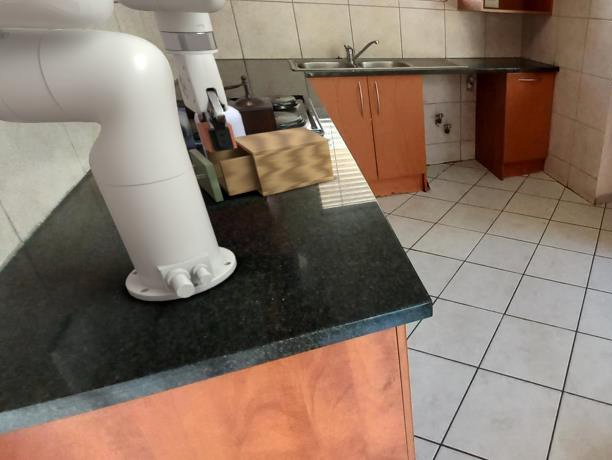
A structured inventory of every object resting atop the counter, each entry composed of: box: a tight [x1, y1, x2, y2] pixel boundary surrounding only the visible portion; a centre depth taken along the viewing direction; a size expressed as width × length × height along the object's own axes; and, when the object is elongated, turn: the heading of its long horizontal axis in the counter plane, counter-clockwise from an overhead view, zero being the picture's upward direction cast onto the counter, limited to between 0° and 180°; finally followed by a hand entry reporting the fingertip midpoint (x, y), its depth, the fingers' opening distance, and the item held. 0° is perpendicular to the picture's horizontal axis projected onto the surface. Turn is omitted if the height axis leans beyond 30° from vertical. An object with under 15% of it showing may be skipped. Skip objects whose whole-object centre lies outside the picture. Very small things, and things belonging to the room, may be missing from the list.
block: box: [196, 122, 237, 152], centre depth 80 cm, size 4×4×4 cm
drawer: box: [188, 144, 261, 202], centre depth 83 cm, size 19×11×7 cm, turn 136°
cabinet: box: [235, 126, 335, 197], centre depth 91 cm, size 15×12×9 cm
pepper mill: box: [223, 74, 279, 135], centre depth 111 cm, size 16×11×18 cm
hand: (219, 145), depth 81 cm, fingers closed on block, 4 cm apart
